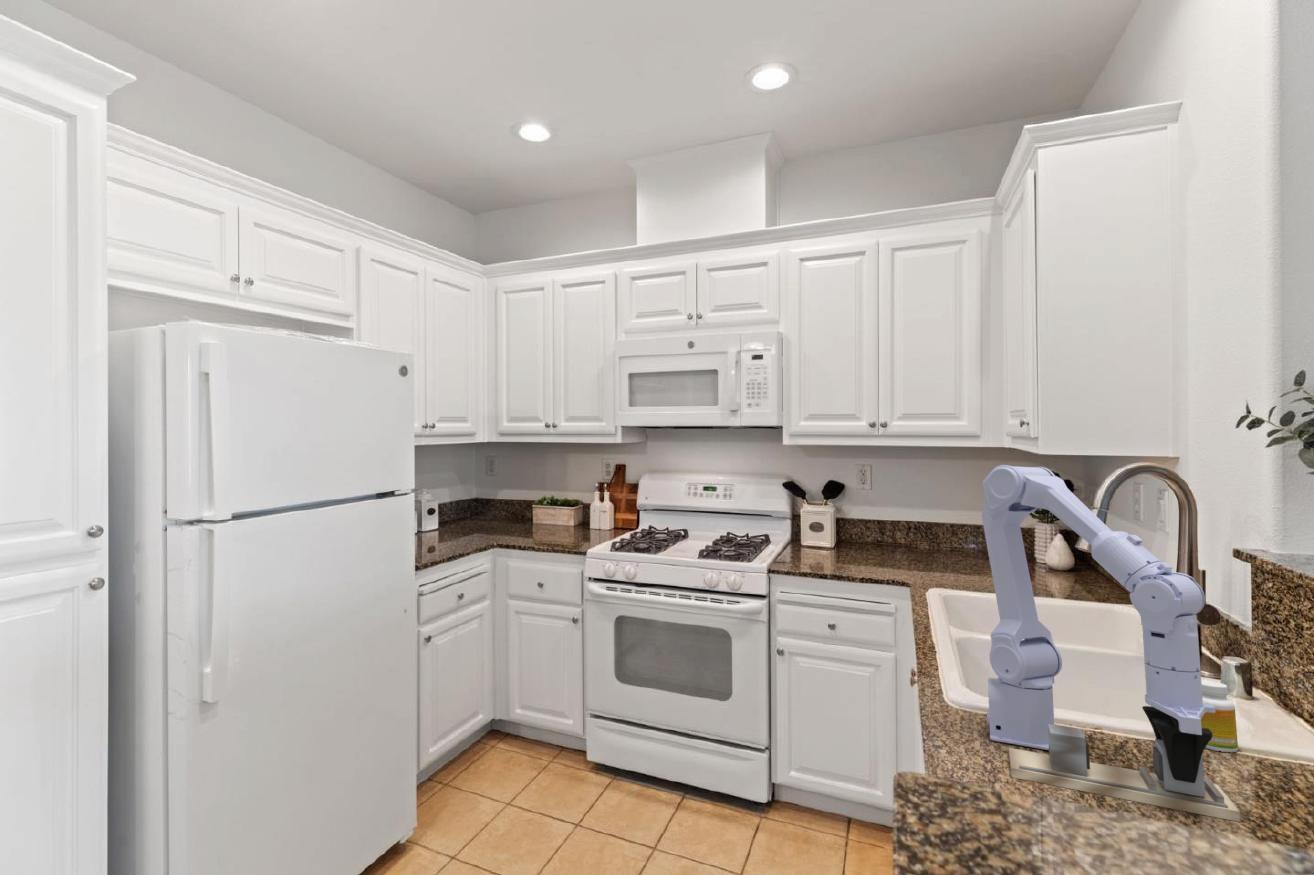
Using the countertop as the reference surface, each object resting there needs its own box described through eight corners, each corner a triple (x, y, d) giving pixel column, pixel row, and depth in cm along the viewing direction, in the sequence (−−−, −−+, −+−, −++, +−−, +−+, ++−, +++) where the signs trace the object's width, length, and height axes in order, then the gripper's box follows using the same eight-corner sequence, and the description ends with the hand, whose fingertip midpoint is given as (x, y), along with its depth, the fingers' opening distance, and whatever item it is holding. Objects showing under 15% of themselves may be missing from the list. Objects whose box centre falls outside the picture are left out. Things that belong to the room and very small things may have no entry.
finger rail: (1011, 776, 85) (1009, 730, 86) (1009, 756, 92) (1007, 713, 93) (1240, 822, 74) (1236, 768, 75) (1218, 794, 81) (1214, 745, 82)
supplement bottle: (1247, 755, 94) (1242, 689, 95) (1206, 751, 95) (1202, 686, 96) (1222, 741, 99) (1218, 679, 100) (1184, 738, 100) (1180, 677, 101)
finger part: (1161, 789, 79) (1158, 748, 80) (1153, 776, 83) (1151, 738, 83) (1205, 797, 77) (1202, 755, 78) (1195, 784, 81) (1193, 744, 81)
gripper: (1231, 685, 73) (1240, 805, 72) (1194, 658, 86) (1201, 759, 84) (1156, 676, 76) (1163, 790, 75) (1131, 651, 89) (1137, 748, 88)
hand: (1178, 773), depth 80 cm, fingers closed on finger part, 4 cm apart
